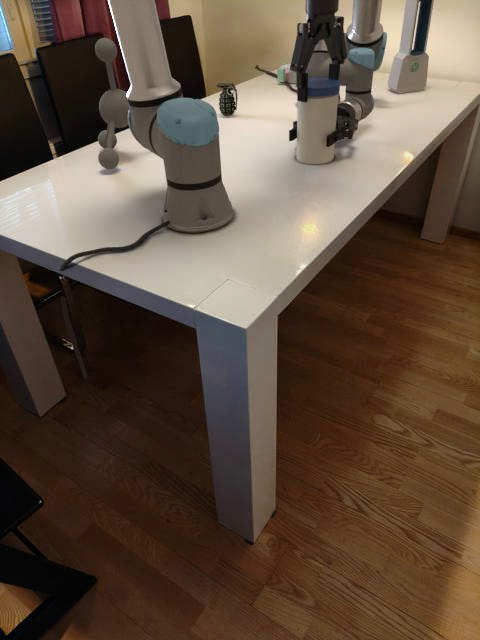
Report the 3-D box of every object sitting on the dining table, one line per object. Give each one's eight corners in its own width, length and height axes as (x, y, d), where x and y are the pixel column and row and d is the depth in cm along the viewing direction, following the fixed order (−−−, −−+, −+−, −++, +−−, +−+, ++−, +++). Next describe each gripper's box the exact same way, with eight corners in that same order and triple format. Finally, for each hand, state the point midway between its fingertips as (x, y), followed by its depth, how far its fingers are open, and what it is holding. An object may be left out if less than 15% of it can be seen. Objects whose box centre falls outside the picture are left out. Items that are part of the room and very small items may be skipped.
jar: (289, 161, 132) (291, 88, 121) (305, 149, 139) (308, 79, 128) (324, 166, 128) (329, 92, 117) (339, 154, 134) (344, 82, 123)
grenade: (217, 117, 168) (214, 86, 162) (221, 112, 172) (219, 82, 166) (235, 117, 166) (233, 86, 160) (239, 113, 171) (238, 82, 165)
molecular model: (182, 161, 136) (166, 37, 117) (102, 175, 130) (73, 48, 111) (161, 137, 153) (145, 27, 135) (90, 149, 147) (63, 35, 129)
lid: (322, 99, 117) (323, 90, 116) (288, 93, 123) (288, 84, 122) (348, 89, 123) (348, 81, 122) (313, 84, 129) (314, 76, 128)
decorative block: (300, 55, 216) (341, 58, 206) (299, 71, 220) (340, 74, 210) (268, 66, 200) (311, 70, 190) (268, 83, 204) (310, 87, 194)
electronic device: (396, 93, 181) (409, -3, 162) (386, 89, 187) (397, -4, 168) (425, 90, 183) (442, -6, 165) (415, 85, 189) (429, -7, 170)
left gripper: (299, -2, 102) (296, 109, 116) (368, -12, 114) (358, 89, 127) (274, -3, 107) (274, 103, 120) (342, -13, 118) (336, 85, 132)
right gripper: (379, 134, 138) (348, 159, 124) (308, 124, 148) (271, 147, 134) (383, 106, 133) (351, 129, 119) (308, 98, 144) (270, 118, 130)
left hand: (317, 96), depth 124 cm, fingers closed on lid, 11 cm apart
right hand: (308, 138), depth 127 cm, fingers closed on jar, 10 cm apart
